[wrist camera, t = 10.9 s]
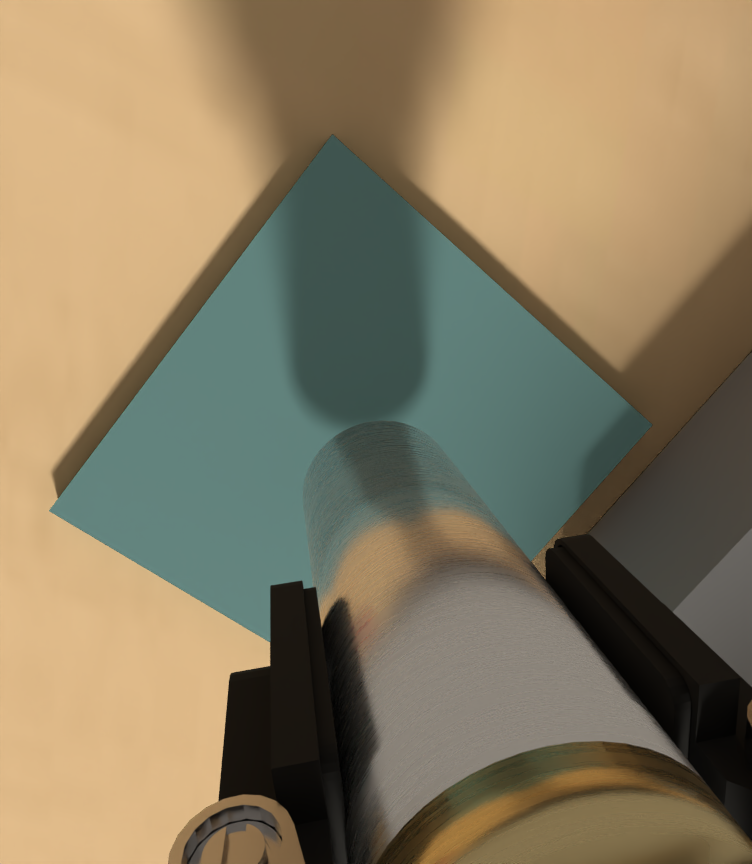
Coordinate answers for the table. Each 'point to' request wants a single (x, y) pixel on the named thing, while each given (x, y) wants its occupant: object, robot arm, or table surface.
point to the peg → (478, 685)
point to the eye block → (697, 523)
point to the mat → (340, 396)
